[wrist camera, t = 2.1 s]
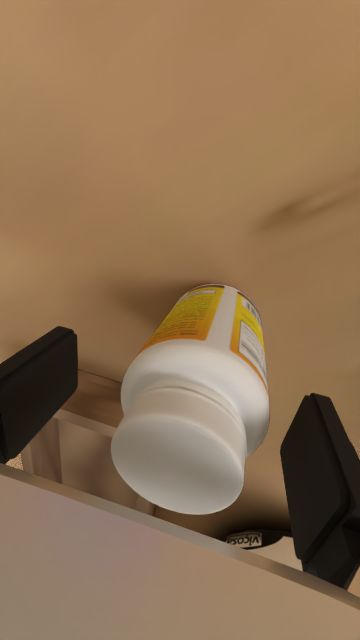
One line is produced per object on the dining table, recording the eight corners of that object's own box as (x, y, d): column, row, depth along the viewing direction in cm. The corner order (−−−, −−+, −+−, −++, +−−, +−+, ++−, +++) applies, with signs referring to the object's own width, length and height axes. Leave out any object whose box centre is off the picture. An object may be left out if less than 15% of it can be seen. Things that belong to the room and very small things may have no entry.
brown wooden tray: (176, 400, 20) (160, 443, 16) (149, 537, 28) (135, 584, 25) (50, 361, 21) (10, 391, 18) (61, 501, 30) (35, 540, 26)
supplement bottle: (161, 337, 18) (68, 474, 9) (194, 265, 15) (109, 351, 6) (234, 374, 17) (216, 556, 8) (280, 307, 15) (325, 463, 6)
